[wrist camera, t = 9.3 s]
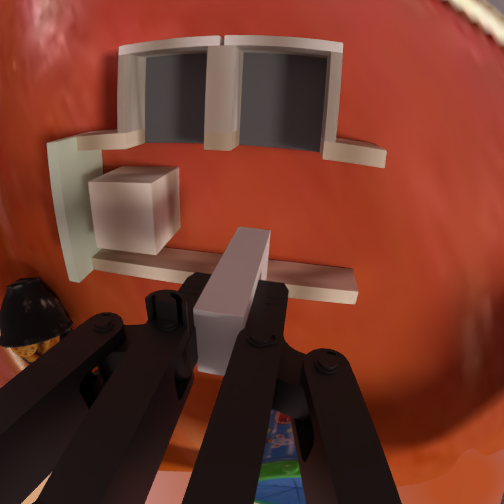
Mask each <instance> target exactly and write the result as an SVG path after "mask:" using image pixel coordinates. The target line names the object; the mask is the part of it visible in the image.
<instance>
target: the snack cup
mask: <svg viewBox="0 0 504 504" xmlns="http://www.w3.org/2000/svg"><path fill="white" fill-rule="evenodd" d="M254 502H255V503H258V504H306V501H305V495H304V490H303V485H302V479H301V474H300V468H299V463H298V457H297V452H296V447H295V441H294V436H293V431H292V425H291V420H290V416H287V415H285V414H283V413H280V412H278V411H276V410H273V409H272V410H271V415H270V421H269V427H268V433H267V438H266V444H265V449H264V455H263V460H262V465H261V470H260V475H259V481H258V486H257V491H256V495H255V500H254Z"/></svg>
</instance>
